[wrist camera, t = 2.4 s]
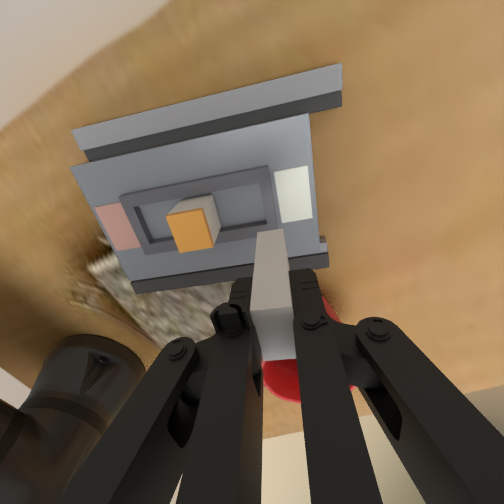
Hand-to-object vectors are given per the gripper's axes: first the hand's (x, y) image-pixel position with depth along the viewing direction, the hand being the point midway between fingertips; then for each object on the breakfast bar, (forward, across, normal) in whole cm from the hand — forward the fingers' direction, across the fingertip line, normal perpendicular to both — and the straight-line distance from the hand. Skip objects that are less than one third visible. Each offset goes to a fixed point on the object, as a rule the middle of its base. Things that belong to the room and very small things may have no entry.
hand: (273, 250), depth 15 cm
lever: (+10, -7, 0) cm, 12 cm away
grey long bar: (+13, -5, +8) cm, 16 cm away
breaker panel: (+13, -7, 0) cm, 15 cm away
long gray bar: (+13, -7, -9) cm, 17 cm away
